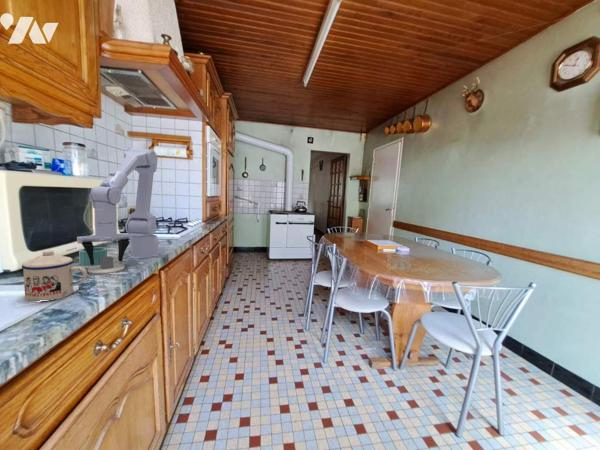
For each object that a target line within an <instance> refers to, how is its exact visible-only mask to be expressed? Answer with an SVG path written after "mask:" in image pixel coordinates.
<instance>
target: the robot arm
mask: <svg viewBox="0 0 600 450" xmlns="http://www.w3.org/2000/svg"><path fill="white" fill-rule="evenodd" d="M123 158H124V159H123V160H122V162H121V163H120V165H119V166H118V167H117V170H112V171H110V172H109V173H108V175H107V176H106V177H105V178H104V180H103V181H102V182H101V183H100V184H99V185H97V186H96V185H95V186H94V187H93V188H91V190H90V191H89V192H90V193H88V197H89V200H90V201H91V203H92V204H91V205H92V208H93V209H94V235H93V234H92V235H85V236H83V235H82V236H76V243H77V244H79V245H80V244H81V245H82V248H83V249H85V250H86V252H87V254H88V257H89V260H90V264H91V265H94V257H93V248H94V246H95V245H94V244H93V243H101V242H115V241H116V242H117V244H118V245H117V246H118V258H117V259H118V261H119V262H123V260H124V259H123V258H124V255H125V252H126V250H127V248H128V247H129V245H130V253H128V254H127V256H129V257H130V258H131V259H133V260H134V259H135V260H137V259H144V258H145V257H146V258H153V257H152V256H154V257H159V256H160V255H159V238H158V235H156V234H155V233H156V232H157V228H158V226H157V218H156V217H155V216H154V215H153V214H152V213H151V211H150V210H151V202H152V195H153V194H152V192H153V185H154V184H153V183H154V182H153V181H154V173H156V172H157V169H158V160H159V159H158V156H157V153H156V152H155V150H154V149H153V148H151V149H150V148H149V149H146V148H132V147H127V148H126V149H125V151H124V152H123ZM133 171H135V172H137V173H138V179H137V191H136V199H135V208H134V211H132V212H131V213H130V214H129V215H128V216H127V220H126V221H125V222H126V223H125V226H124V228H125V231H126V233H118V227H117V224H118V223H117V216H118V215H117V214H118V213H117V205H118V204H119V203H120V202H121V199H122V193H123V189H124V188H125V187H126V186H127V184H128V182H129V178H128V177H129V176H130V174H131V173H132V172H133ZM146 258H145V259H146ZM94 266H95V265H94Z"/></svg>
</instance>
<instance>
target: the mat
mask: <svg viewBox="0 0 600 450" xmlns="http://www.w3.org/2000/svg"><path fill="white" fill-rule="evenodd" d="M120 264H123V263H120ZM90 267H91V266H88V267H84V269H85V270H86V271H87V275H88V276H89V277H94V276H100V275H101V276H102V275H107V274H110V273H104V274H93V273H89V272H88V268H90ZM127 271H130V269H128V268H127V267H126V266H125V268H124V269H123V270H121V271H117V272H113V273H115V274H116V273H121V272H127ZM113 273H112V274H113Z"/></svg>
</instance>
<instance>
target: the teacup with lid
mask: <svg viewBox="0 0 600 450" xmlns="http://www.w3.org/2000/svg"><path fill="white" fill-rule="evenodd" d="M73 263H74V260H73V258H72V257H70V256H64V255H61V254H58V253H57V254H56V253H55V252H54V250H52V249H51V250H44V251H42V254H41V255H38V256H36V257H35V258H32V259H29V260H26V261H25V262H23V263H22V265H21V268H22V269H23V271H22V272H23V284H24V285H23V286H24V287H23V289H24V300H25V301H26V302H31V301H40V300H52V299H56V300H55V301H57V300H61V299H63V298H68V297H67V296H70V295H71V294H72V293H73V292H74V287H75V286H79V285H81V284H82V283H83V282H85V281H86V279H87V276H88V273H87V271H86V270H85V267H82V266H73ZM73 270H74V271H80V272H81V274H82V278H81V279H80V281H76V282H74V276H73V272H74V271H73Z"/></svg>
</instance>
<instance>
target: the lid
mask: <svg viewBox="0 0 600 450" xmlns="http://www.w3.org/2000/svg"><path fill="white" fill-rule="evenodd" d="M89 267H90V268H89ZM89 267H87V268H88V272H89V273H93V274H102V275H105V274H104V273H109V274H113V272H115V273H118V272H117V271H121V270H123V269H124V268H125V267H126V266H125V264H123V263H122V264H121V263H114V257H113V256H107V257H100V265H94V266H89Z"/></svg>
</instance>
